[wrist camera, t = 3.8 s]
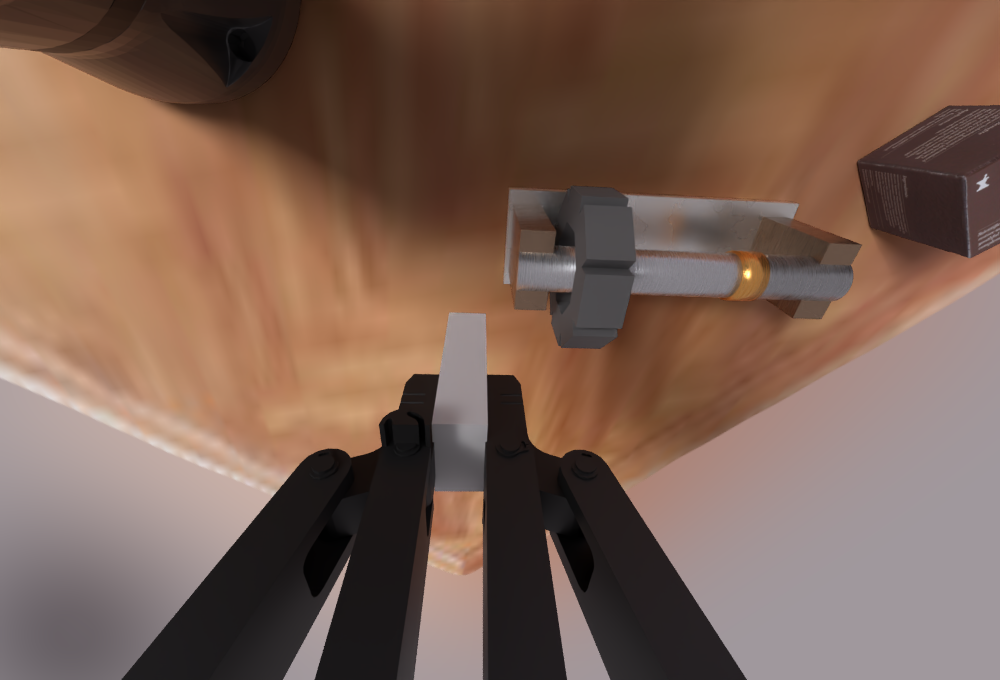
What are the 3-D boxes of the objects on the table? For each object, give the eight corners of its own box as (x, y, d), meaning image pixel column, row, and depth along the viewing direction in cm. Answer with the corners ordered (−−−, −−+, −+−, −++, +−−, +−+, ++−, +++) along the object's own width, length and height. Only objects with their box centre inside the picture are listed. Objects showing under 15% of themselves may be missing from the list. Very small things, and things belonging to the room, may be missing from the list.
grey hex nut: (545, 303, 30) (567, 374, 22) (561, 177, 25) (597, 210, 18) (576, 304, 30) (610, 375, 23) (599, 179, 26) (650, 212, 18)
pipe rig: (503, 279, 31) (509, 329, 24) (509, 186, 27) (518, 215, 21) (754, 288, 32) (828, 338, 26) (791, 201, 29) (889, 232, 22)
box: (866, 229, 30) (967, 262, 24) (853, 159, 27) (963, 176, 21) (955, 180, 29) (1088, 202, 22) (950, 101, 26) (1100, 101, 20)
